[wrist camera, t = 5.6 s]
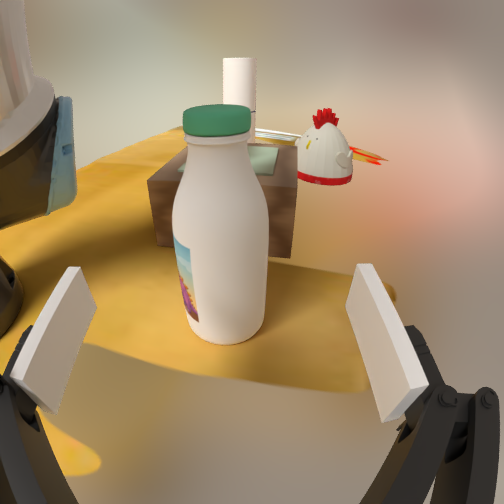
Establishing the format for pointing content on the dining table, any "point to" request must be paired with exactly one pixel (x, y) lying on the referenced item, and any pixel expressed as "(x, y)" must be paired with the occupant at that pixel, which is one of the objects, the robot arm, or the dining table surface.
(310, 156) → the kitchen timer
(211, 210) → the milk bottle
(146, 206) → the dining table surface
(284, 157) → the walnut stand
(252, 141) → the cylindrical container
